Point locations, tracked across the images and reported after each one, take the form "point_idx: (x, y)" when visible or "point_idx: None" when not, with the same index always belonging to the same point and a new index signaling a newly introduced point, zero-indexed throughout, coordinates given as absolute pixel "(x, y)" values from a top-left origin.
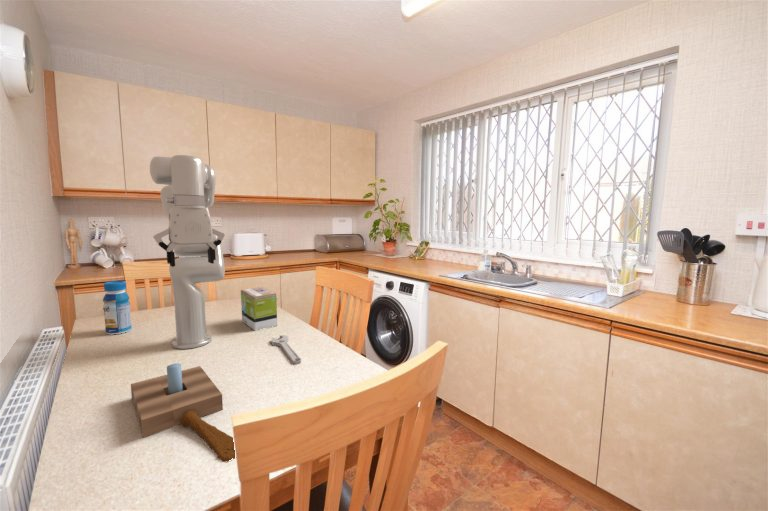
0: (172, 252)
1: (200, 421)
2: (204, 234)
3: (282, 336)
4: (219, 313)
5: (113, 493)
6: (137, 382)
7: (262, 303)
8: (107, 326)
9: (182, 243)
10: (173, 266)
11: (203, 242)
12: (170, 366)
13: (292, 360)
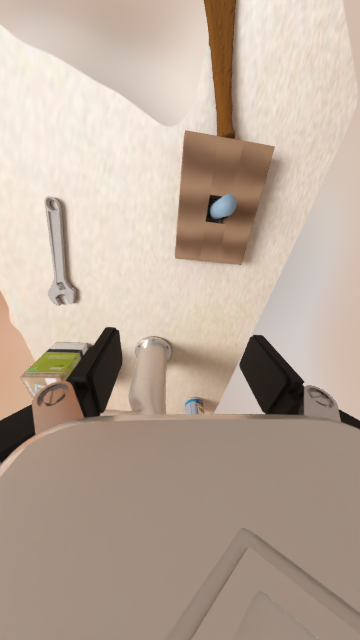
0: (298, 378)
1: (224, 97)
2: (48, 614)
3: (56, 299)
4: (111, 402)
5: (331, 36)
6: (235, 263)
7: (54, 367)
8: (202, 406)
9: (308, 418)
10: (255, 335)
11: (124, 421)
12: (231, 207)
13: (59, 210)
